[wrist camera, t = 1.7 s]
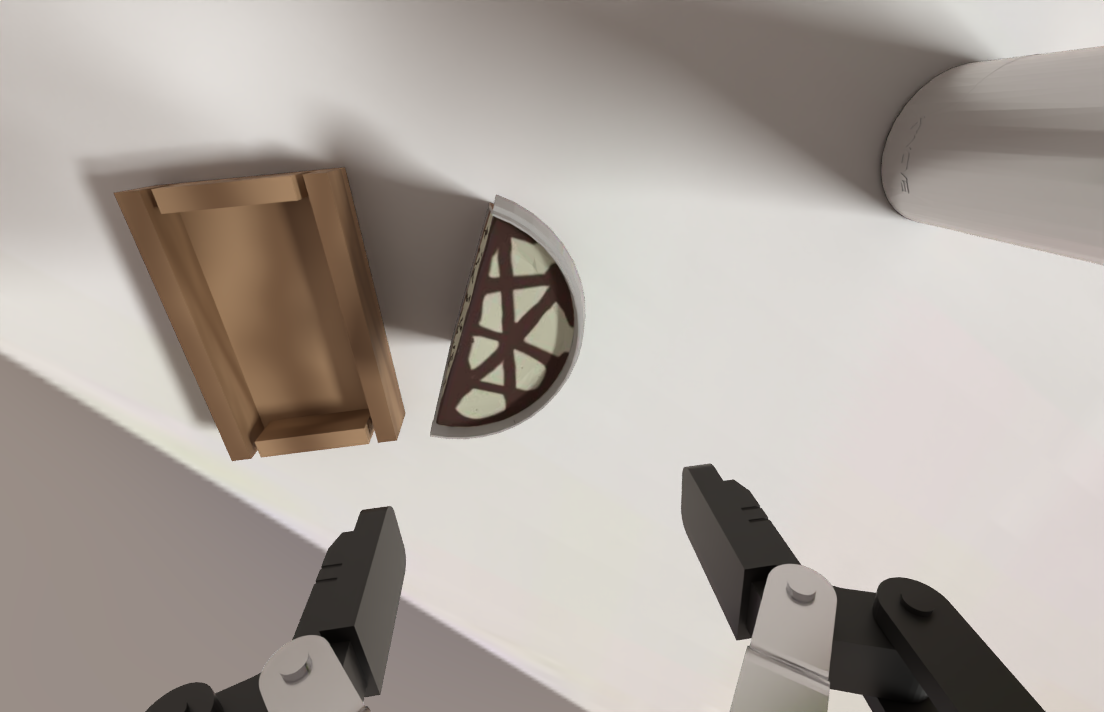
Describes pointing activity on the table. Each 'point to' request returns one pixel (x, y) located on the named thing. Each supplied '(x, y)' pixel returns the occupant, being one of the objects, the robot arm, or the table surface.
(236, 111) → the table surface
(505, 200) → the food container
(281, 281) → the holder
